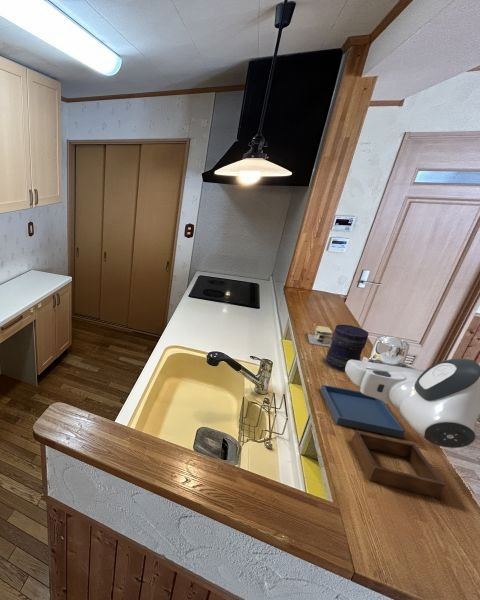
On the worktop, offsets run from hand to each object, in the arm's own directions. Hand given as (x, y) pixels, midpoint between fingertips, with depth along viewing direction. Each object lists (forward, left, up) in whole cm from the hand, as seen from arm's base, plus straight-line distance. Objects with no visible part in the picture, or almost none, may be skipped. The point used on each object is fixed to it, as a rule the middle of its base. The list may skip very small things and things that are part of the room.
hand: (382, 362), depth 90 cm
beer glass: (0, +1, -8) cm, 8 cm away
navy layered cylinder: (-4, -34, -20) cm, 39 cm away
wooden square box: (0, +18, -20) cm, 27 cm away
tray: (0, -4, -20) cm, 20 cm away
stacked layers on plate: (-2, -54, -20) cm, 58 cm away
